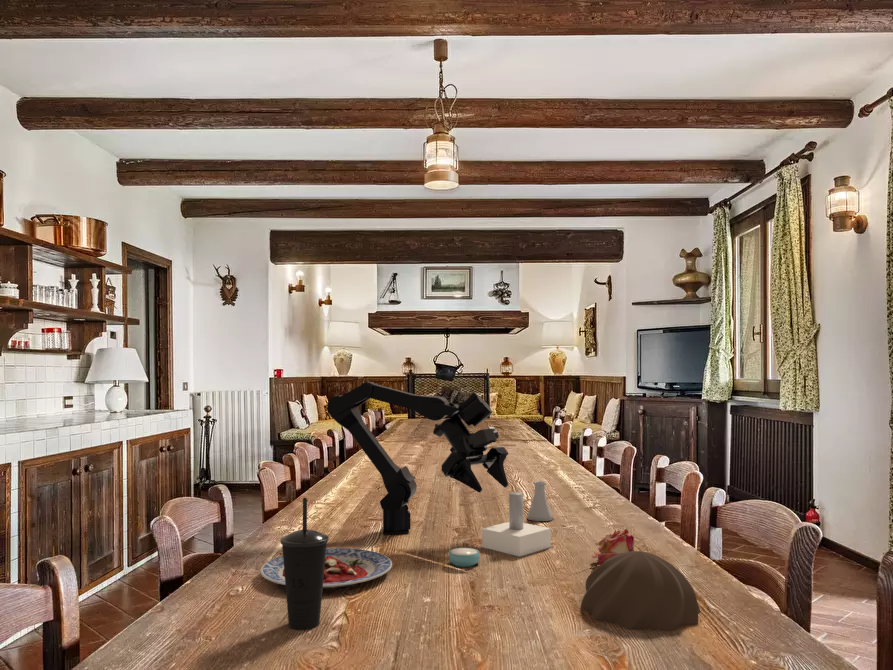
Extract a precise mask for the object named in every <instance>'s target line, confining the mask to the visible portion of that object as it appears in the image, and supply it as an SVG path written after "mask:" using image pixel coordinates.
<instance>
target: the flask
mask: <svg viewBox="0 0 893 670" xmlns="http://www.w3.org/2000/svg"><path fill="white" fill-rule="evenodd" d="M533 484H534V492H533V493H534V494H533V497H532V501H531V504H530V507H529V510H528V513H527V515H526V518H527V519H528V520H529V521H535V522H550V521H552V520H554V517H553V513H552V511H551V508H550V505H549V502H548V498H547V495H546V494H547V493H546V490H545V489H546V487H545V486H546V484H547V483H546V482H545V481H534V482H533Z"/></svg>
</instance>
